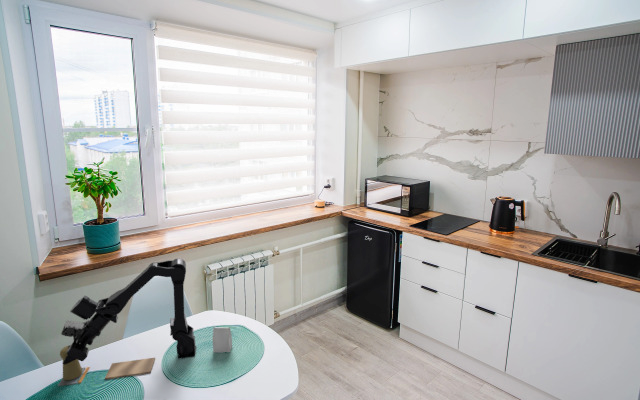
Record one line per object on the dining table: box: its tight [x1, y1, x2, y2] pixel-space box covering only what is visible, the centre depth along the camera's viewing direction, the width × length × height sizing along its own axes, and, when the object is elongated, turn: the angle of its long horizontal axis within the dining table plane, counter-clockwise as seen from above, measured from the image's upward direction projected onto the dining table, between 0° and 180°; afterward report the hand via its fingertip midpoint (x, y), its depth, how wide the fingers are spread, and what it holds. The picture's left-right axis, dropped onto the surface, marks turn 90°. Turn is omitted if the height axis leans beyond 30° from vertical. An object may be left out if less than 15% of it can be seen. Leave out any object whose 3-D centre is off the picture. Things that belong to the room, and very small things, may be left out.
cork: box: [59, 344, 83, 380], centre depth 132 cm, size 6×6×11 cm
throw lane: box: [57, 357, 156, 387], centre depth 136 cm, size 31×8×1 cm, turn 103°
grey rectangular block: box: [212, 326, 233, 353], centre depth 149 cm, size 4×7×10 cm, turn 88°
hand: (65, 359), depth 131 cm, fingers closed on cork, 5 cm apart
